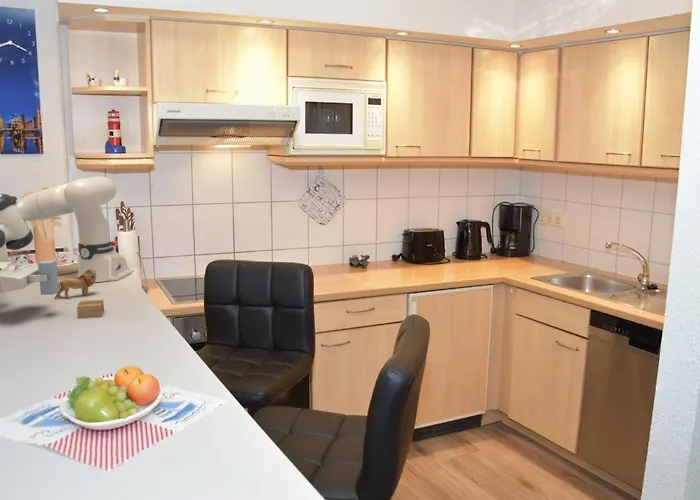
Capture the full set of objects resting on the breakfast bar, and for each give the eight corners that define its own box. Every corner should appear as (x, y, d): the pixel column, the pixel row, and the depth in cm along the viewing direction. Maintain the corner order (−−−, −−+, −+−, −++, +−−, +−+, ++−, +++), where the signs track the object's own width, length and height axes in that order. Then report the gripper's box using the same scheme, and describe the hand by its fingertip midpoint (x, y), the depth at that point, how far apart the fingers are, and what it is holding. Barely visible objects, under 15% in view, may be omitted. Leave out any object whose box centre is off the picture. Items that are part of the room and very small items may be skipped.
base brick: (80, 312, 209) (80, 300, 209) (104, 311, 211) (103, 299, 210) (77, 319, 203) (76, 306, 202) (101, 317, 204) (101, 305, 204)
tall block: (46, 291, 207) (43, 260, 205) (59, 291, 207) (56, 260, 205) (40, 294, 203) (37, 263, 201) (53, 294, 203) (51, 263, 201)
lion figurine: (94, 291, 234) (92, 266, 233) (100, 294, 231) (98, 269, 229) (51, 298, 225) (49, 273, 223) (57, 301, 221) (54, 275, 219)
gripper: (22, 277, 215) (65, 277, 215) (-9, 294, 194) (38, 294, 195) (20, 259, 213) (63, 258, 214) (-12, 273, 193) (36, 273, 194)
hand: (51, 275), depth 204 cm, fingers closed on tall block, 4 cm apart
